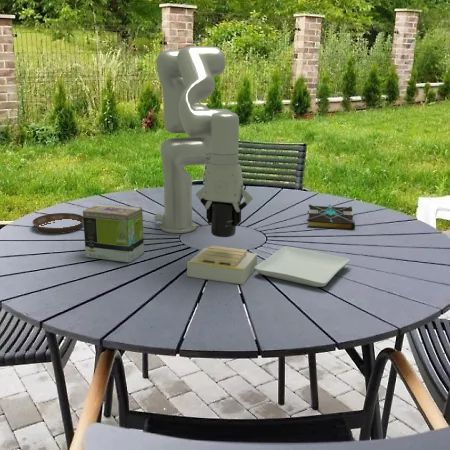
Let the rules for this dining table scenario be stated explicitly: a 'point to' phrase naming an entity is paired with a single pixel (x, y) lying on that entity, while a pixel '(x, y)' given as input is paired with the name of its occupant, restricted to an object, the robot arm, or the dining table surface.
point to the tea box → (113, 232)
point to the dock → (222, 264)
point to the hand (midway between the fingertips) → (223, 223)
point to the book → (331, 217)
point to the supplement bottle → (222, 219)
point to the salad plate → (302, 266)
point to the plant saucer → (54, 217)
